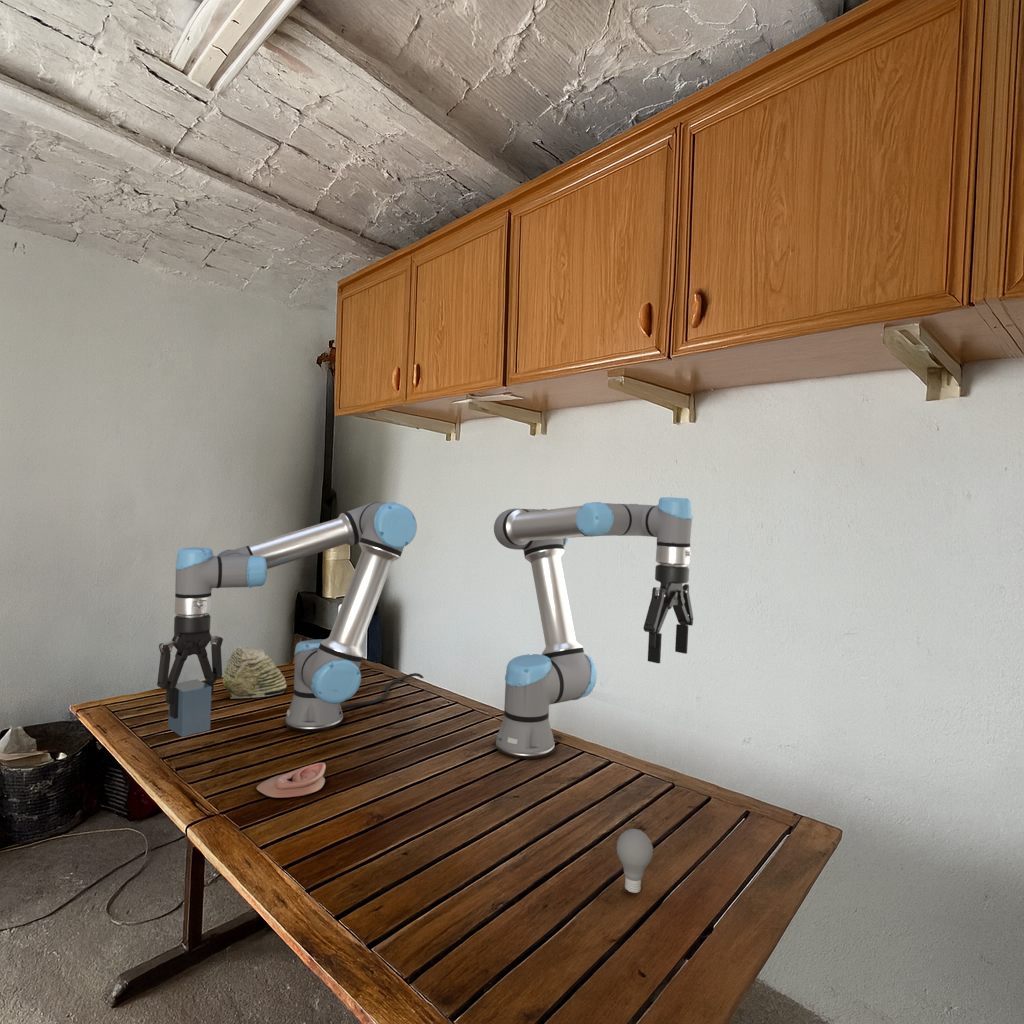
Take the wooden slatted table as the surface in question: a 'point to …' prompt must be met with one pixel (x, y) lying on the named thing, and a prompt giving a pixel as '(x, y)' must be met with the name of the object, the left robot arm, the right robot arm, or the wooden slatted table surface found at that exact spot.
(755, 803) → the wooden slatted table surface
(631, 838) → the light bulb
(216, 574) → the left robot arm
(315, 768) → the anatomical model
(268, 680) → the fossil
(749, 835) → the wooden slatted table surface
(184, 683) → the brick
